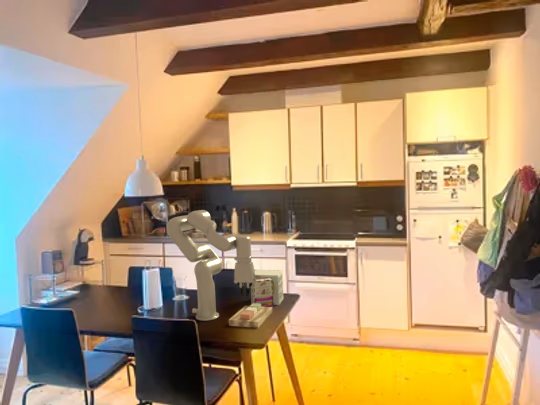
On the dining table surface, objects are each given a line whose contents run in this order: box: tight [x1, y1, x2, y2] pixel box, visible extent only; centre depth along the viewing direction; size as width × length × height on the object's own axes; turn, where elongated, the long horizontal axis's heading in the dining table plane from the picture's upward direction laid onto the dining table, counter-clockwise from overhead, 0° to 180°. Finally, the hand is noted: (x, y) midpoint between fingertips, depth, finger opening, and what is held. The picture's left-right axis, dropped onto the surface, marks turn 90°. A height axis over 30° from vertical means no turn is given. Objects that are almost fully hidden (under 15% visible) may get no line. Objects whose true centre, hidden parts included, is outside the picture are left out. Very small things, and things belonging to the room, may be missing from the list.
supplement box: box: [250, 269, 284, 306], centre depth 267 cm, size 17×13×18 cm
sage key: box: [249, 303, 261, 311], centre depth 244 cm, size 5×5×3 cm
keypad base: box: [228, 305, 273, 329], centre depth 237 cm, size 16×24×3 cm, turn 162°
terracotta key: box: [240, 311, 253, 320], centre depth 231 cm, size 5×5×3 cm
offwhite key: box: [245, 307, 257, 316], centre depth 237 cm, size 5×5×3 cm
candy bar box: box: [252, 278, 274, 308], centre depth 256 cm, size 11×5×16 cm, turn 105°
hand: (245, 294), depth 230 cm, fingers closed
